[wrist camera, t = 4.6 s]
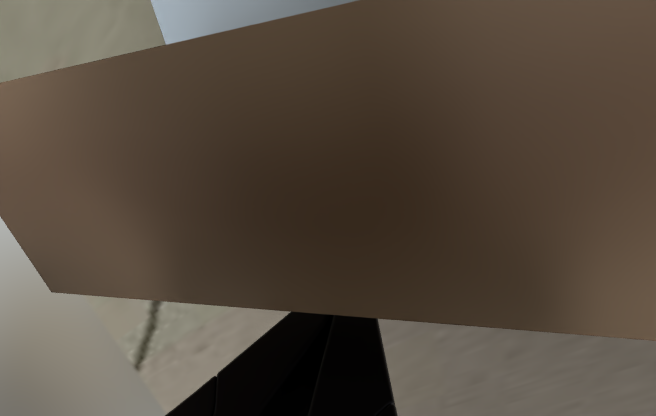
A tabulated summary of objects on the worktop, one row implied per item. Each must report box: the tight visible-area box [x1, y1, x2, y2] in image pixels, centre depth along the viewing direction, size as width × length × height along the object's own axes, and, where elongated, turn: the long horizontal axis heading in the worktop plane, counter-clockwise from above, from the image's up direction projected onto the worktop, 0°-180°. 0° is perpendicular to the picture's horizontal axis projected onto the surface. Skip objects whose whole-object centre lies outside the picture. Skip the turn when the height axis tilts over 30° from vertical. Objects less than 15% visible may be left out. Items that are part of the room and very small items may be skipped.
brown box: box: [0, 0, 656, 341], centre depth 8 cm, size 4×12×8 cm, turn 101°
